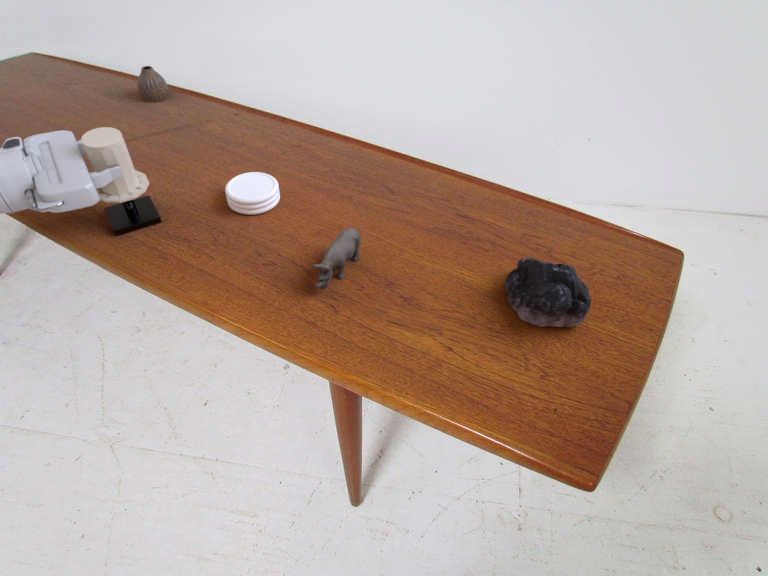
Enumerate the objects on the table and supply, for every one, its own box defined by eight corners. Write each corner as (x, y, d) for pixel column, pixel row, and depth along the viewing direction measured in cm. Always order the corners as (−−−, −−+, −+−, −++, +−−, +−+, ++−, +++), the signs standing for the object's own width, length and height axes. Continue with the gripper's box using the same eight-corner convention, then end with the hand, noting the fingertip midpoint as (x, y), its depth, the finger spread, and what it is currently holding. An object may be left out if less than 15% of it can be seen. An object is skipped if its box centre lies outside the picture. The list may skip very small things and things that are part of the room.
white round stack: (268, 219, 92) (266, 204, 90) (219, 211, 94) (214, 195, 91) (287, 190, 99) (286, 174, 97) (241, 182, 101) (238, 167, 98)
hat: (99, 208, 83) (76, 158, 76) (87, 179, 88) (65, 129, 81) (154, 193, 87) (138, 144, 79) (140, 166, 92) (124, 117, 84)
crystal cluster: (527, 265, 86) (535, 219, 79) (605, 297, 80) (620, 250, 73) (487, 312, 80) (490, 267, 73) (567, 351, 73) (580, 306, 66)
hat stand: (116, 236, 88) (80, 158, 77) (106, 212, 92) (71, 136, 81) (162, 222, 91) (134, 145, 80) (150, 200, 96) (123, 124, 85)
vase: (163, 94, 128) (153, 59, 122) (177, 103, 124) (167, 68, 118) (138, 102, 124) (126, 67, 118) (151, 112, 121) (139, 76, 115)
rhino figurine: (304, 294, 79) (300, 267, 75) (345, 245, 88) (344, 217, 84) (326, 303, 78) (324, 275, 73) (366, 252, 87) (366, 224, 82)
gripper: (19, 195, 70) (123, 169, 75) (6, 133, 82) (96, 114, 87) (40, 231, 74) (137, 203, 80) (25, 167, 86) (109, 147, 92)
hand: (115, 156), depth 83 cm, fingers open, 8 cm apart
